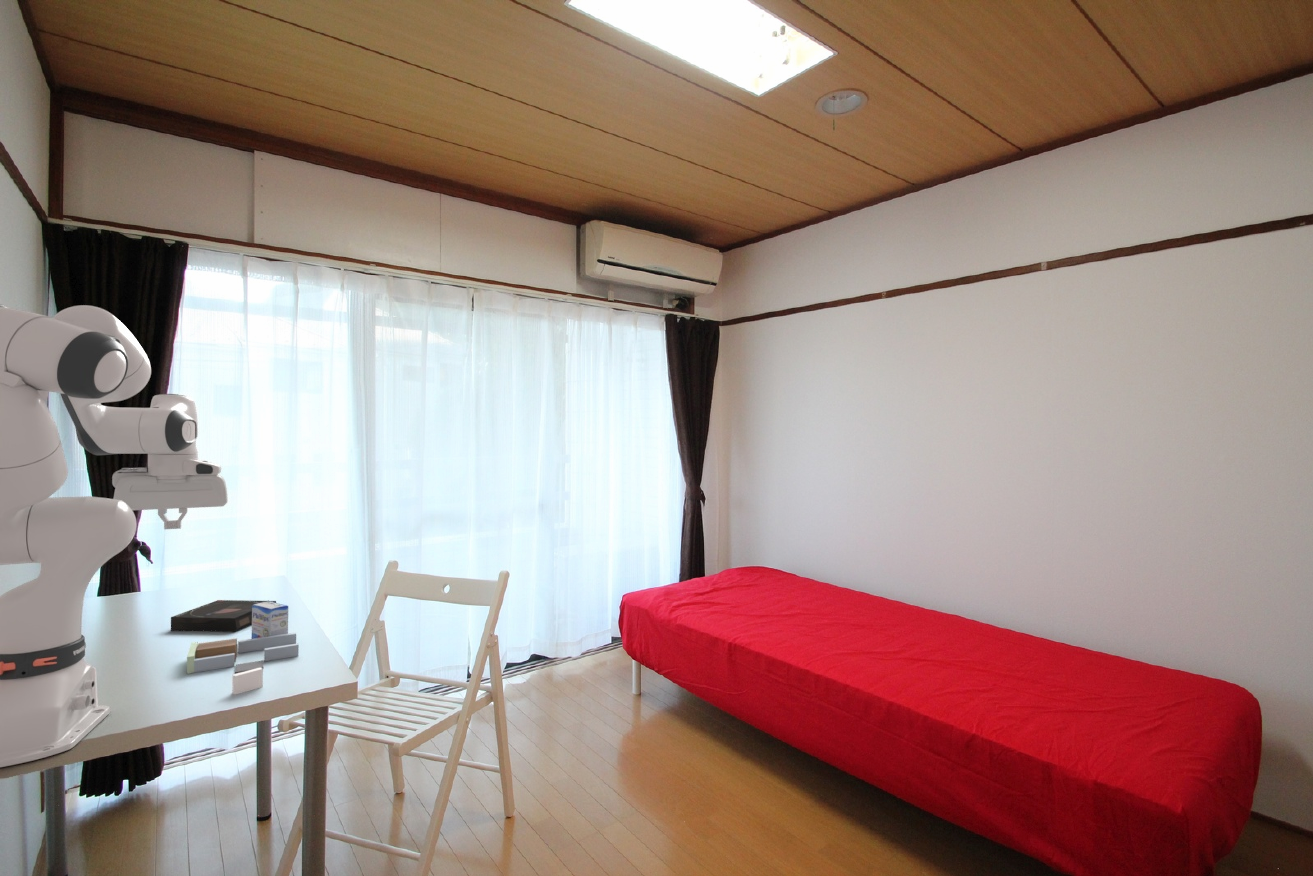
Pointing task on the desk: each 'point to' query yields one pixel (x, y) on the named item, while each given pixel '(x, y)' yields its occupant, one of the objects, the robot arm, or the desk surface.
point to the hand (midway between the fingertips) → (172, 528)
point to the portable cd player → (216, 617)
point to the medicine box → (269, 619)
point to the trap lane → (272, 644)
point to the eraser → (247, 680)
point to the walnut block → (217, 648)
